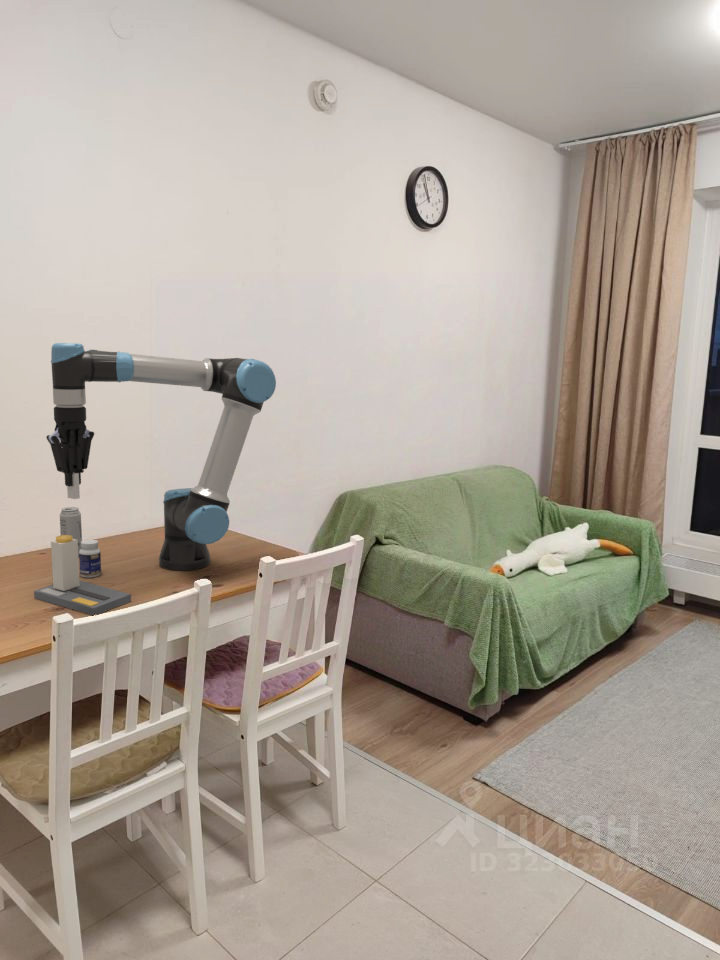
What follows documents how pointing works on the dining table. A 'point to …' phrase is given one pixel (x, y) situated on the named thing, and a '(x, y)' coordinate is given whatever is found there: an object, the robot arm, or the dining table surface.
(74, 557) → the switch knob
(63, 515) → the energy drink can
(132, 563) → the dining table surface
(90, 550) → the pill bottle
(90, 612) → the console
